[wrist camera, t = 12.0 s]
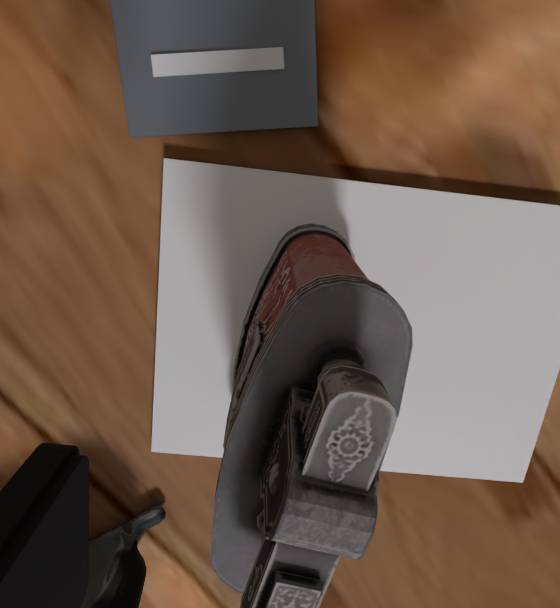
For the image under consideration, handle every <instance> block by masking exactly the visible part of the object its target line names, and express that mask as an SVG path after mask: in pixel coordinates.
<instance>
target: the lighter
mask: <svg viewBox="0 0 560 608" xmlns="http://www.w3.org/2000/svg"><path fill="white" fill-rule="evenodd" d="M412 346H413V342H412V327H411V325H410V322H409V320H408V318H407V316H406V314H405V312H404V310H403V309H402V307H401V306H400V305H399V304H398V303H397V301H396V300H395V299H394V298H393V297H392V296H391V295H390V294H389V293H388V292H387V291H386V290H385V289H384V288H383V287H381V286H380V285H379V284H377V283H374V282H372V281H370V280H369V279H368V278H367V277H366V275H365V274H364V273H363V272H362V270H361V269H360V268H359V266H358V265H357V264H356V262H355V255H354V253H353V251H352V249H351V247H350V245H349V244H348V242H347V241H346V240H345V239H344V238H343V237H342V236H341V235H340V234H339V233H338V232H337V231H335V230H333V229H331V228H329V227H327V226H325V225H319V224H312V223H310V224H304V225H299V226H296V227H294V228H293V229H291V230H289V231H287V232H286V233H285V235H284V236H283V237H282V238H281V239H280V241H279V242H278V244H277V246H276V248H275V250H274V252H273V254H272V256H271V258H270V260H269V262H268V263H267V265H266V267H265V269H264V271H263V273H262V275H261V277H260V279H259V281H258V284H257V286H256V289H255V292H254V294H253V297H252V299H251V302H250V305H249V307H248V310H247V313H246V315H245V318H244V321H243V326H242V330H241V335H240V340H239V344H238V349H237V354H236V358H235V364H234V371H233V383H232V396H231V402H230V407H229V412H228V416H227V422H226V429H225V436H224V443H223V448H224V453H223V458H222V462H221V467H220V471H219V476H218V480H217V487H216V494H215V501H214V513H213V527H212V541H211V554H210V558H211V563H212V568H213V571H214V572H215V573H216V575H217V576H218V577H219V579H220V580H221V582H223V583H224V584H226V585H227V586H229V587H230V588H231V589H233V590H234V591H236V592H239V593H242V594H243V596H242V599H241V605H240V608H319V606H320V604H321V602H322V599H323V597H324V595H325V592H326V590H327V587H328V585H329V583H330V580H331V578H332V576H333V573H334V571H335V569H336V566H337V564H338V561H339V559H340V557H341V556H343V557H348V558H353V559H358V560H359V559H360V558H361V557H362V556H363V555H364V554H365V552H366V550H367V547H368V545H369V543H370V541H371V538H372V536H373V533H374V529H375V524H376V519H377V494H378V487H379V472H380V469H381V466H382V463H383V460H384V457H385V454H386V451H387V448H388V445H389V442H390V439H391V436H392V434H393V431H394V428H395V424H396V421H397V418H398V415H399V411H400V406H401V401H402V396H403V391H404V386H405V381H406V376H407V371H408V366H409V361H410V356H411V351H412Z"/></svg>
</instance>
